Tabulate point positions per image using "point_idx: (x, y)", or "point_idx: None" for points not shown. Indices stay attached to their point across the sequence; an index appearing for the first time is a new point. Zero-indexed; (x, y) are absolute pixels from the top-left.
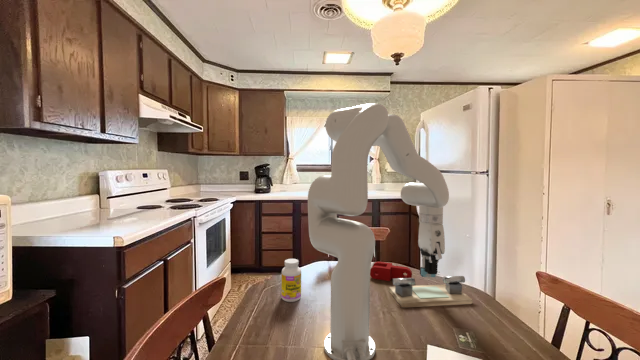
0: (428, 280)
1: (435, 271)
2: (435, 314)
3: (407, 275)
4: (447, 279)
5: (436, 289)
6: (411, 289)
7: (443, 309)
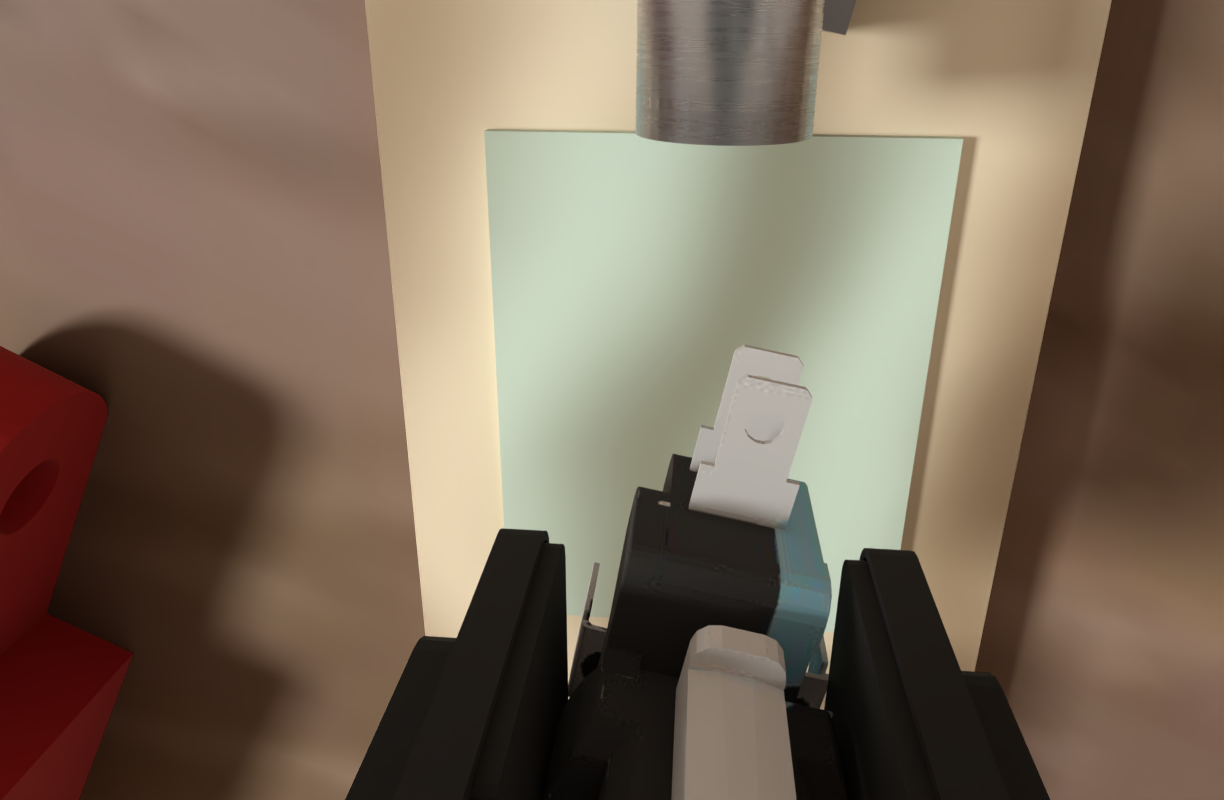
0: (10, 5)
1: (991, 691)
2: (1216, 545)
3: (38, 464)
4: (811, 88)
5: (623, 212)
6: None
7: (1133, 362)
